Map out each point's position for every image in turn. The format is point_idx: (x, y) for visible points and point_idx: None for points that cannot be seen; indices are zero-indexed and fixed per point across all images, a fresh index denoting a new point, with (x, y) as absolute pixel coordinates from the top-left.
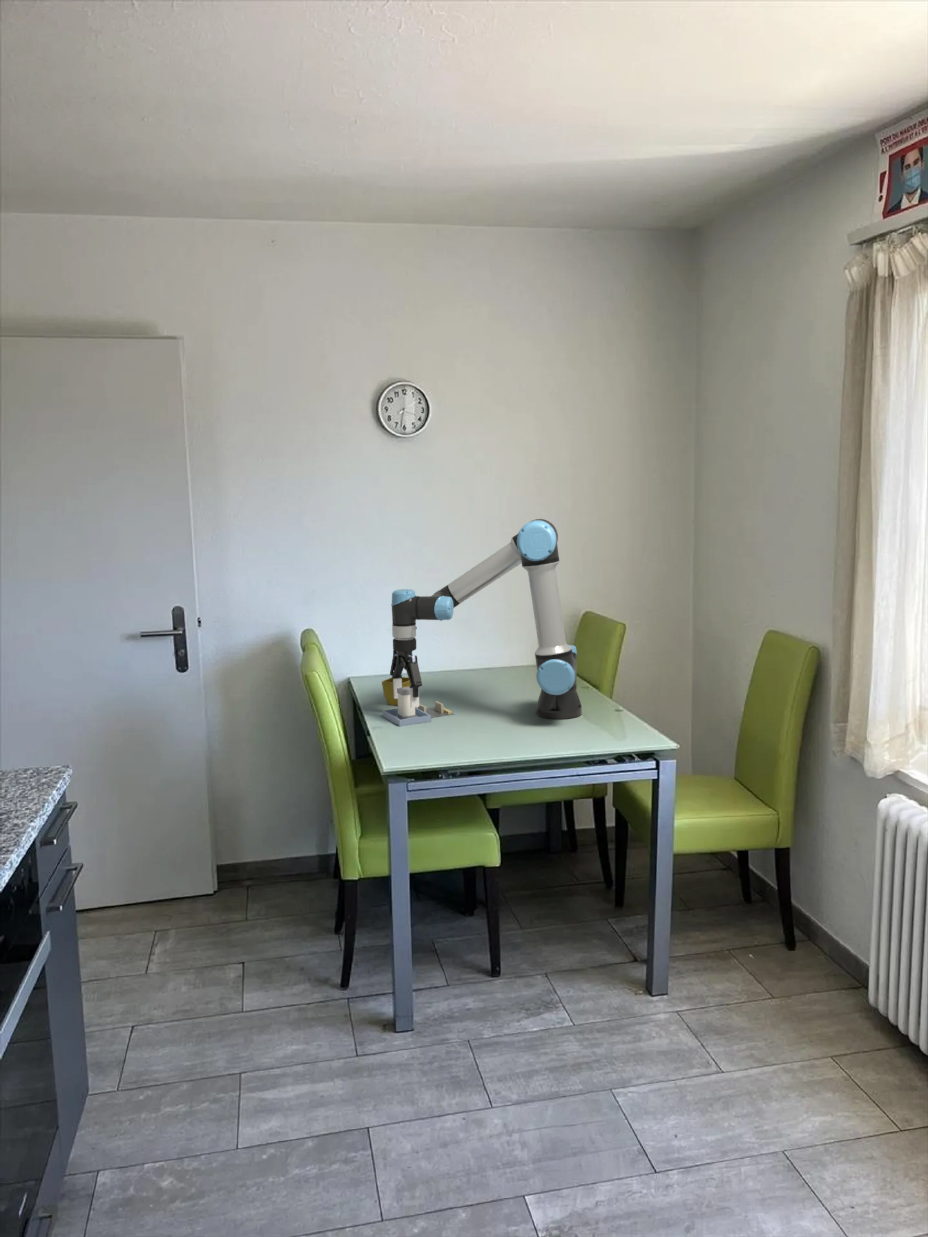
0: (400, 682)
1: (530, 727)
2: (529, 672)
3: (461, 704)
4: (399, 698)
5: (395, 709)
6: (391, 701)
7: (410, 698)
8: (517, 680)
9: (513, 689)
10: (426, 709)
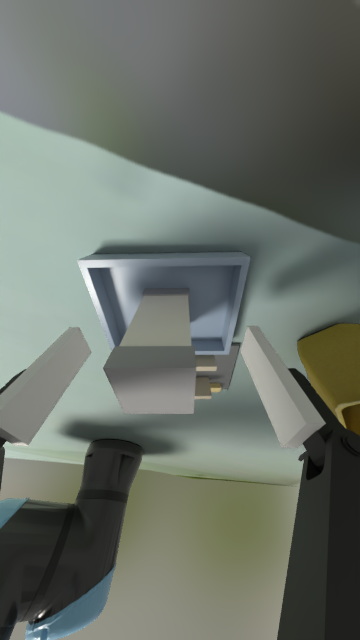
0: (272, 415)
1: (58, 422)
2: (289, 473)
3: (222, 411)
4: (169, 330)
5: (233, 304)
6: (340, 332)
7: (51, 355)
8: (272, 464)
9: (242, 455)
10: (223, 368)
